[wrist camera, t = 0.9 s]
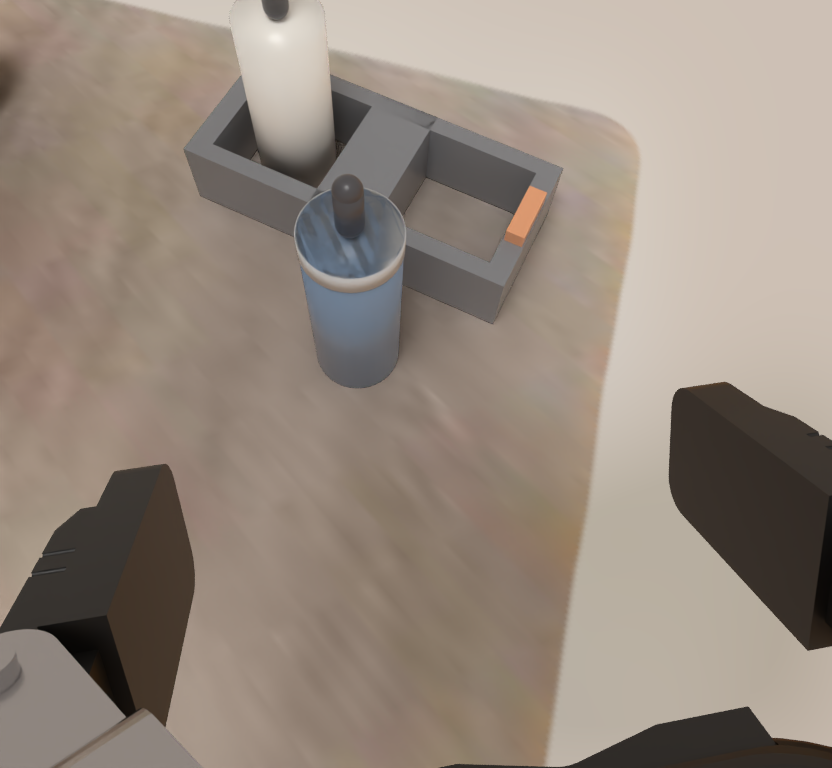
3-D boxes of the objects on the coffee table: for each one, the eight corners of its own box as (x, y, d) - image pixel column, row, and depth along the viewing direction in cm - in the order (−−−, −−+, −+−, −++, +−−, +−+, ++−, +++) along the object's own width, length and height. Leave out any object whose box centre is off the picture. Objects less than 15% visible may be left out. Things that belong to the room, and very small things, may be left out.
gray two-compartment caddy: (200, 195, 43) (121, -23, 30) (272, 99, 46) (229, -137, 33) (492, 324, 41) (545, 147, 27) (547, 212, 44) (619, 6, 31)
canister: (300, 367, 39) (261, 201, 26) (340, 301, 41) (322, 115, 28) (376, 402, 38) (374, 250, 25) (413, 334, 40) (429, 159, 27)
